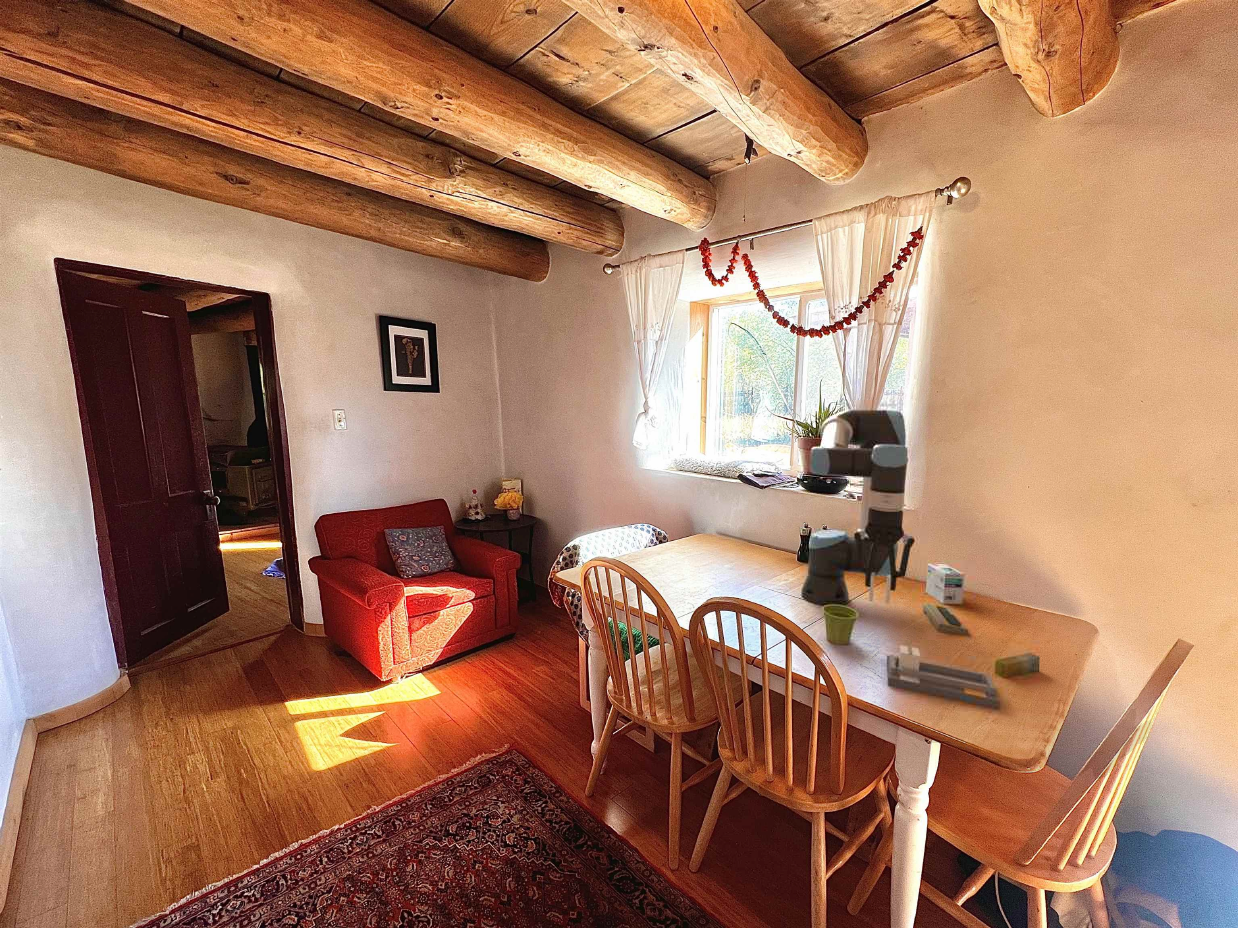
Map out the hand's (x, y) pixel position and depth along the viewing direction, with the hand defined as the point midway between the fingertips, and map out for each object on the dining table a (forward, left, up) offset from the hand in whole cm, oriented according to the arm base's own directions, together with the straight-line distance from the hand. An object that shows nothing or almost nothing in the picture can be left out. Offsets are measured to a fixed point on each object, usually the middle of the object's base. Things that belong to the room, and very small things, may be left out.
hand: (878, 600), depth 128 cm
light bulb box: (+22, +64, -19) cm, 70 cm away
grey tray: (+14, 0, -19) cm, 23 cm away
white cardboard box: (+7, 0, -16) cm, 18 cm away
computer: (+20, +42, -19) cm, 50 cm away
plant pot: (-9, +14, -19) cm, 25 cm away
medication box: (+33, +15, -19) cm, 41 cm away
